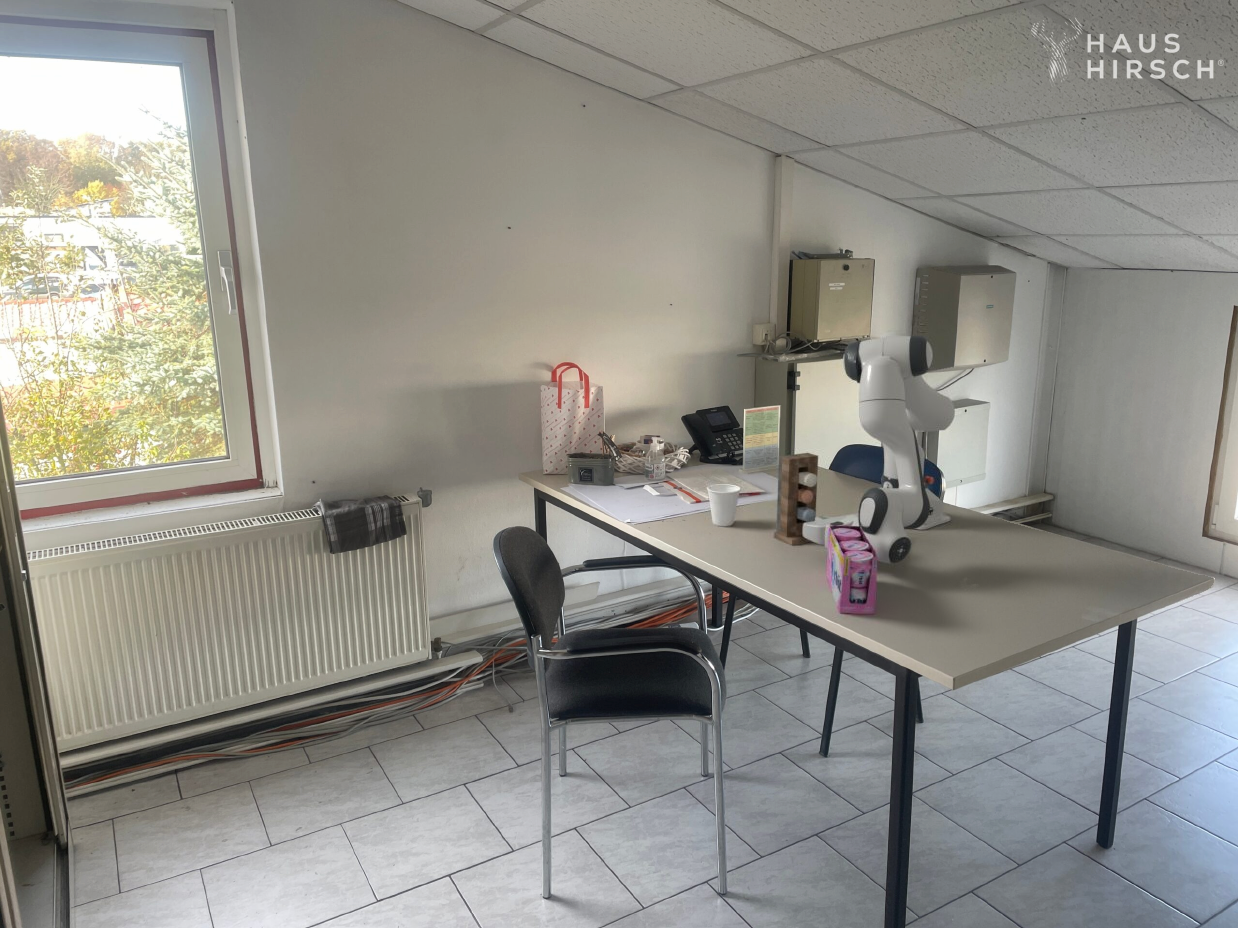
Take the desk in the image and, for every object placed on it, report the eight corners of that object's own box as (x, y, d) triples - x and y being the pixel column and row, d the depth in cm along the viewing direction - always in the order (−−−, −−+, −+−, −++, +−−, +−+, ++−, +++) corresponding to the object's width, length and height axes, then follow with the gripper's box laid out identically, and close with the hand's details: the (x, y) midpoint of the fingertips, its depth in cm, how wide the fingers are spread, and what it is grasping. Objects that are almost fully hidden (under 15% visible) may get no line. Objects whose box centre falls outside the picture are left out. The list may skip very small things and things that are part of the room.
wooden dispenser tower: (802, 532, 247) (805, 452, 242) (820, 539, 240) (824, 457, 235) (774, 537, 243) (776, 455, 238) (792, 545, 236) (795, 461, 231)
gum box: (877, 617, 188) (880, 558, 185) (840, 616, 189) (843, 557, 186) (858, 578, 211) (861, 525, 208) (825, 577, 212) (827, 524, 209)
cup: (702, 526, 254) (702, 490, 251) (711, 517, 263) (712, 482, 260) (735, 530, 250) (735, 493, 247) (743, 521, 259) (744, 485, 256)
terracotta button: (802, 499, 240) (803, 486, 239) (812, 502, 237) (813, 489, 236) (792, 500, 239) (793, 488, 238) (802, 504, 235) (803, 491, 234)
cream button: (806, 482, 238) (807, 470, 237) (816, 486, 234) (817, 473, 234) (796, 484, 236) (796, 471, 236) (806, 487, 233) (806, 474, 232)
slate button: (805, 517, 240) (805, 505, 239) (815, 521, 237) (815, 508, 236) (795, 519, 239) (795, 506, 238) (805, 523, 235) (805, 510, 234)
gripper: (886, 515, 224) (849, 502, 236) (824, 527, 215) (789, 513, 227) (884, 538, 226) (848, 524, 238) (823, 551, 217) (788, 536, 229)
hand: (819, 519), depth 232 cm, fingers closed
